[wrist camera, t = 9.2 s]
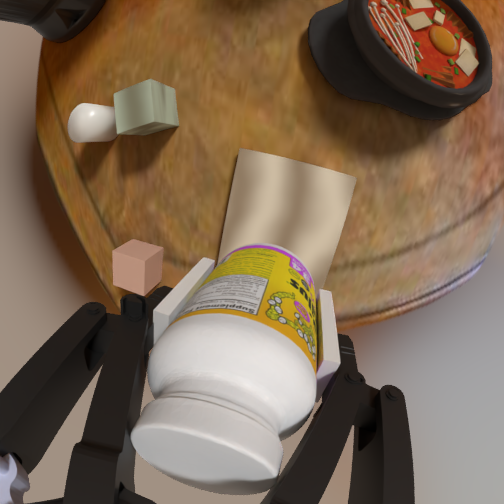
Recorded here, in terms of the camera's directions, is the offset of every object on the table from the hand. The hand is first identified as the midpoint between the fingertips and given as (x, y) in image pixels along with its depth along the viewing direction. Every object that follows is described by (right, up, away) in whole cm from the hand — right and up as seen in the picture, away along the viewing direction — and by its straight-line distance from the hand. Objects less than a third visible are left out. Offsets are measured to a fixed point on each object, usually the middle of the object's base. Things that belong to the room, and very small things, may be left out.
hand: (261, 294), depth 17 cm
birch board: (+3, +5, +15) cm, 16 cm away
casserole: (+18, +26, +5) cm, 32 cm away
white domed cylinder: (-20, +20, +14) cm, 32 cm away
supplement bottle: (0, 0, +1) cm, 1 cm away
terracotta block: (-15, +2, +20) cm, 25 cm away
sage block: (-12, +20, +13) cm, 27 cm away
